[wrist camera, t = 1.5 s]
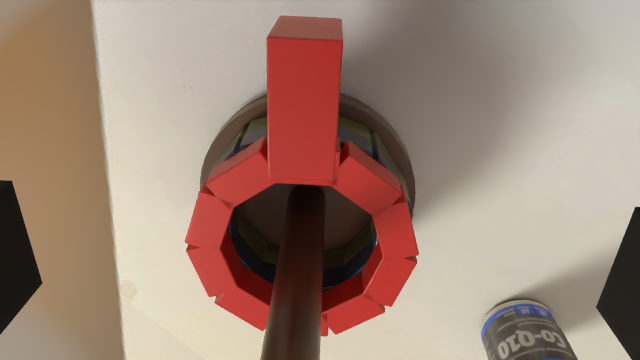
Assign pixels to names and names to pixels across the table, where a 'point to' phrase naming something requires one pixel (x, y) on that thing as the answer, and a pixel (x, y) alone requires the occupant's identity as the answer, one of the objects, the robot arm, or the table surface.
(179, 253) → the table surface
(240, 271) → the red ring
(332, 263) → the ring stand
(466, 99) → the table surface
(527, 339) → the pill bottle
